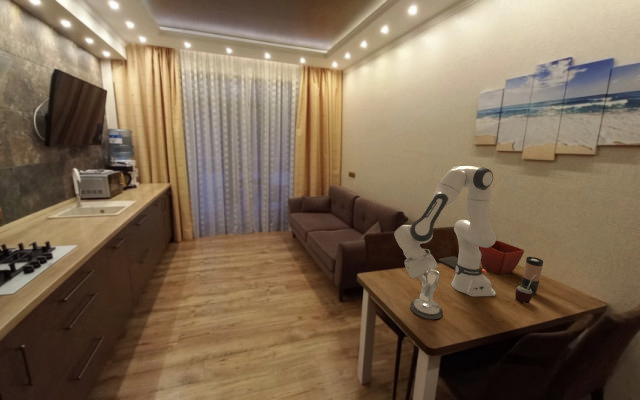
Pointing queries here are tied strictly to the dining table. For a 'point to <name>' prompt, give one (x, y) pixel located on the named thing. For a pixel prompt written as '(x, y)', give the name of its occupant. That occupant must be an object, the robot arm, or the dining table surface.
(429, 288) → the beer glass
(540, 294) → the dining table surface
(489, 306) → the dining table surface
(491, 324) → the dining table surface
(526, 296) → the mate gourd
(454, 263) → the hardcover book
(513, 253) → the plant pot
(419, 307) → the disc
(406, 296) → the dining table surface
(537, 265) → the travel mug
